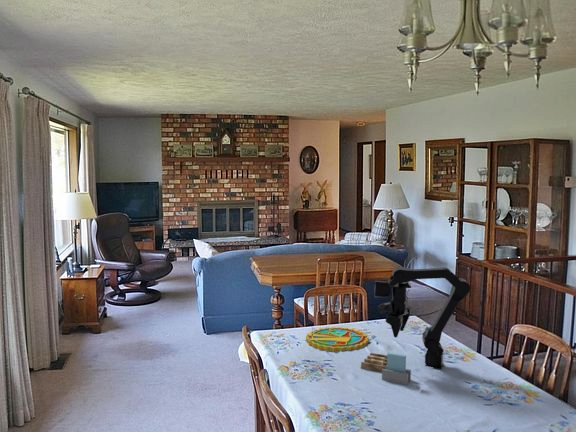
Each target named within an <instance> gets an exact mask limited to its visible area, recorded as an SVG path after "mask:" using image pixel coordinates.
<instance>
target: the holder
mask: <svg viewBox="0 0 576 432" xmlns="http://www.w3.org/2000/svg"><path fill="white" fill-rule="evenodd" d="M411 379H412V369H409V368H406V373H403V372H398V371H392V370H387V365H386V366H385V369H382V372H381V380H382V381H386V382H393V383H397V384H402V385H409V383H410V381H412V380H411Z"/></svg>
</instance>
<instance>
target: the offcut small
mask: <svg viewBox="0 0 576 432" xmlns="http://www.w3.org/2000/svg"><path fill="white" fill-rule="evenodd" d="M371 363H372V364H377V365H384V361H381V360H375V359H371Z"/></svg>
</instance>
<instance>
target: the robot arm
mask: <svg viewBox="0 0 576 432" xmlns="http://www.w3.org/2000/svg"><path fill="white" fill-rule="evenodd" d="M429 279H445V280H446V281H447V282H448V283H450V285H451V288H450V292H449V296H448V298H447V300H446V302H445V303H444V305H443V307H442V309H441V310H440V312H439V314H438V316H437V317H436V319H435V321H434V323H433V324H432V325H431V326H430V327H429V326H426V327H425V328H424V330H423V332H422V333H421V334H422V335H421V336H422V337H421V338H422V343H423V346H424V348H425V349H426V353H425V354H424V364H425V367H427V368H428V367H430V368H432V369H435V370H441V369H443V366H444V365H445V363H444V348H443V346H442V344H441V342H440V341H441V337H442V332H443V330H444V329H445V328H446V325H447V324H448V322H449V320H450V319H451V317H452V315H453V313H454V311H455V310H456V308H457V306H458V305H459V303H461V302H462V300H464V299H465V298H466V297H467V296H468V294H469V293H470V291H471V286H470V284H469V283H468V281H467V280H466V279H465V278H462V277H458V276H457V275H456V273H454V272H453V271H451V270H450V268H448V267H447V266H445V267H444V266H443V267H438V268H437V267H431V268H430V267H429V268H411V267H403V266H396V267H394V269H393V270H392V273H391V276H390V277H389V278H388V279H387V281H381V280H375V281H374V282H375V283H374V298H389V297H390V296H391V295H392V296H391V300H390V301H389V302H384V303H380V304H379V305H378V307H377V311H378V312H379V313H380V314H384V313H387V312H389V314H388V315H386V317H385V323H387V324H389V326H390V327H391V331H392V334H393V337H394V338H397V337H398V336H399V333H400V332H403V331H404V330H405V327H406V326H407V323H408V322H409V318H410V316H411V314H412V312H413V310H412V309H413V308H412V307H411V306H410V305H407V303H408V299H407V289H411V288H412V286H411V284H410V282H412V281H414V280H415V281H416V280H429Z"/></svg>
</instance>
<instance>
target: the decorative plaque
mask: <svg viewBox="0 0 576 432" xmlns="http://www.w3.org/2000/svg"><path fill="white" fill-rule="evenodd" d="M305 341H306V342H305V343H307V344H308V346H311V347H312V348H315V349H318V350H319V351H320V350H322V351H325V352H332V353H334V352H335V353H336V352H339V353H340V352H343V351H352V350H358V349H360V348H361V349H362V348H363V347H365V346H367V344H369V341H370V338H369V337H368V334H367V333H366V334H365V332H363V331H360V329H359V330H358V329H355V328H349V327H342V326H338V327H336V326H331V327H327V326H326V327H321V328H318V329H313V330H311V331H309V332H307V334H306V336H305Z"/></svg>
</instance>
